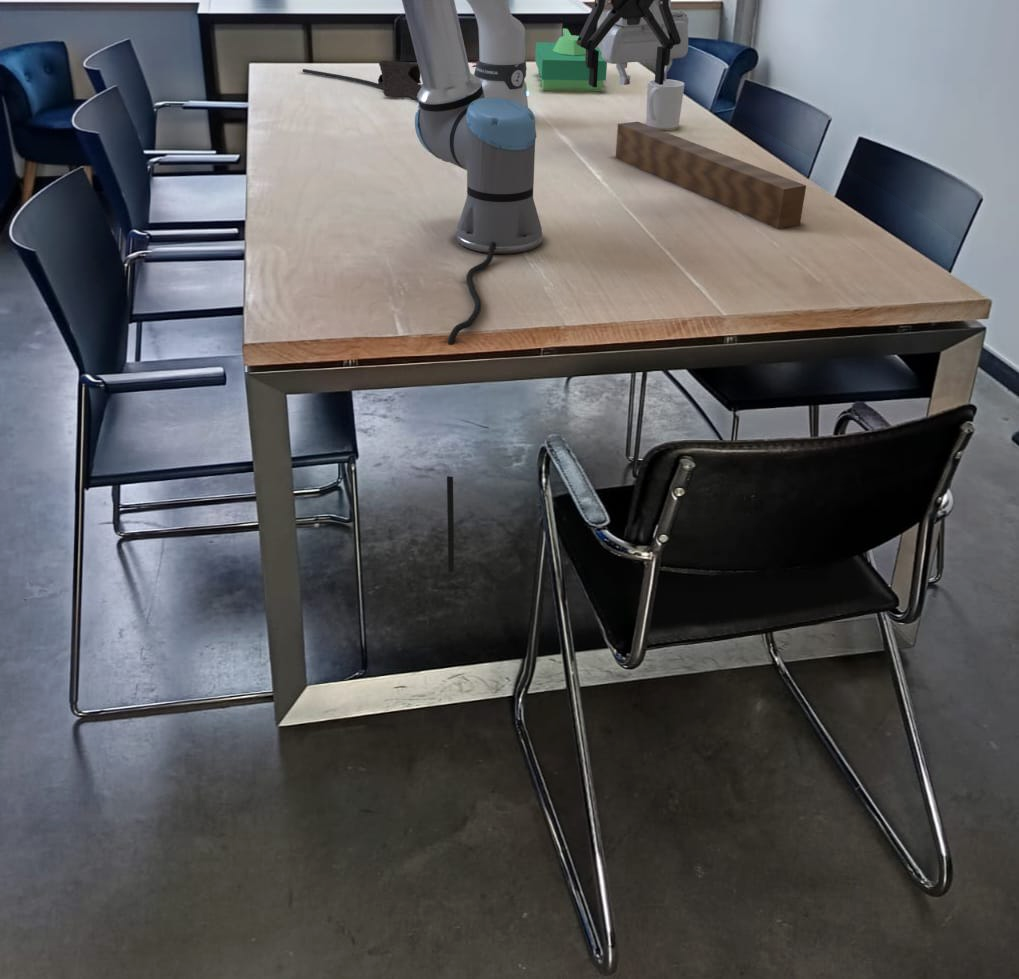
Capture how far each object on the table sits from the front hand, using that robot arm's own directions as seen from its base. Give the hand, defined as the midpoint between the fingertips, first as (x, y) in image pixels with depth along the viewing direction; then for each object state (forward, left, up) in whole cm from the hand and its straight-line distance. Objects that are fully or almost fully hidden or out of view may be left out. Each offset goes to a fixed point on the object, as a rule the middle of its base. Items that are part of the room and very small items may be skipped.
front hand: (626, 84), depth 213 cm
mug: (+56, -8, -21) cm, 60 cm away
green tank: (+108, +19, -21) cm, 112 cm away
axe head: (+84, +62, -21) cm, 106 cm away
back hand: (+24, -3, -4) cm, 24 cm away
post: (+5, -17, -21) cm, 27 cm away
